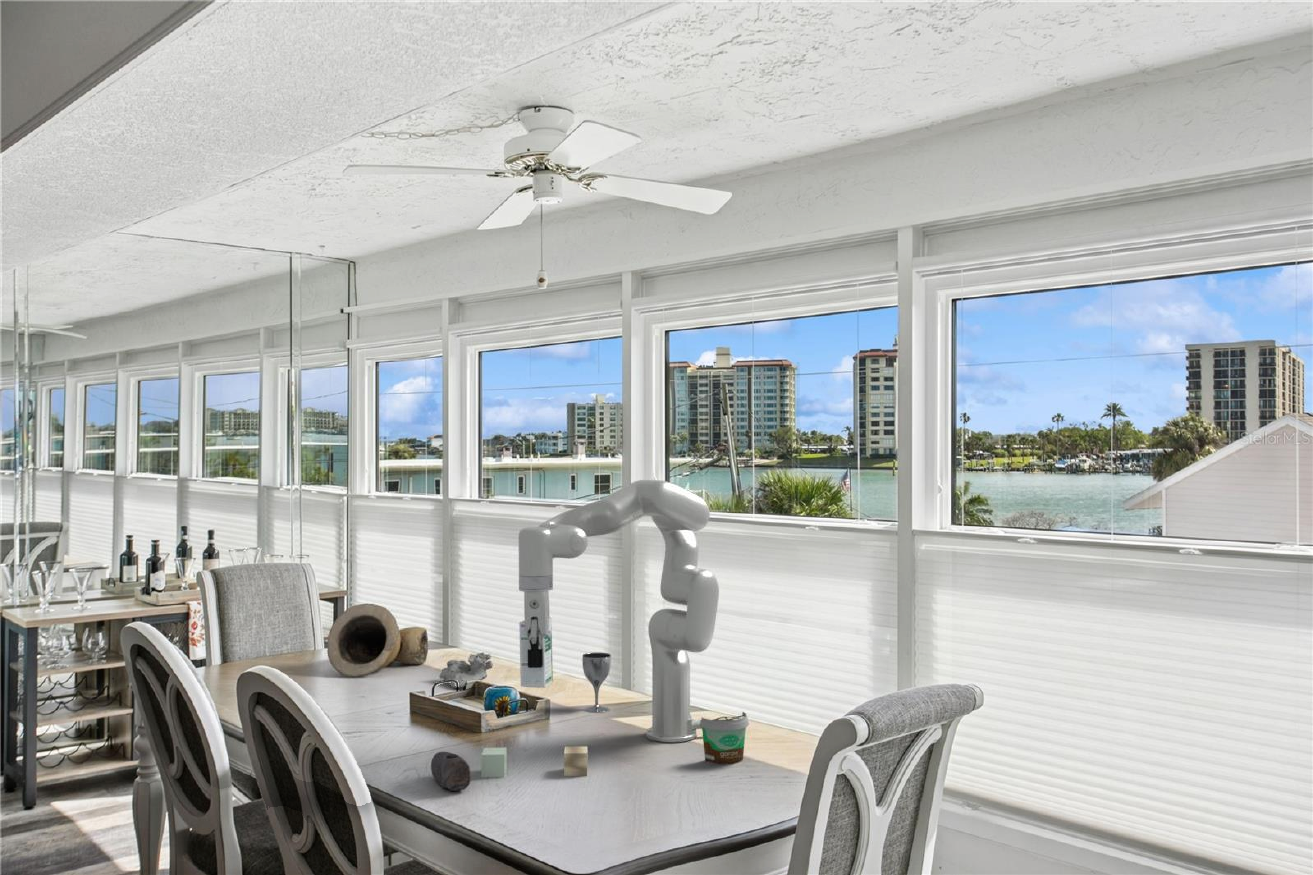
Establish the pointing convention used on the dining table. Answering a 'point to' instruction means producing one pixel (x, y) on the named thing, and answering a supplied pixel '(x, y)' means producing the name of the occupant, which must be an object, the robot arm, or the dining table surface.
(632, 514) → the robot arm
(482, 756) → the sage cube
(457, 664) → the coral
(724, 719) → the food container
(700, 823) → the dining table surface
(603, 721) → the dining table surface
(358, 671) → the footed stone vessel
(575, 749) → the birch cube
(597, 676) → the wine glass
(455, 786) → the perforated stone tool
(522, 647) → the syrup box
